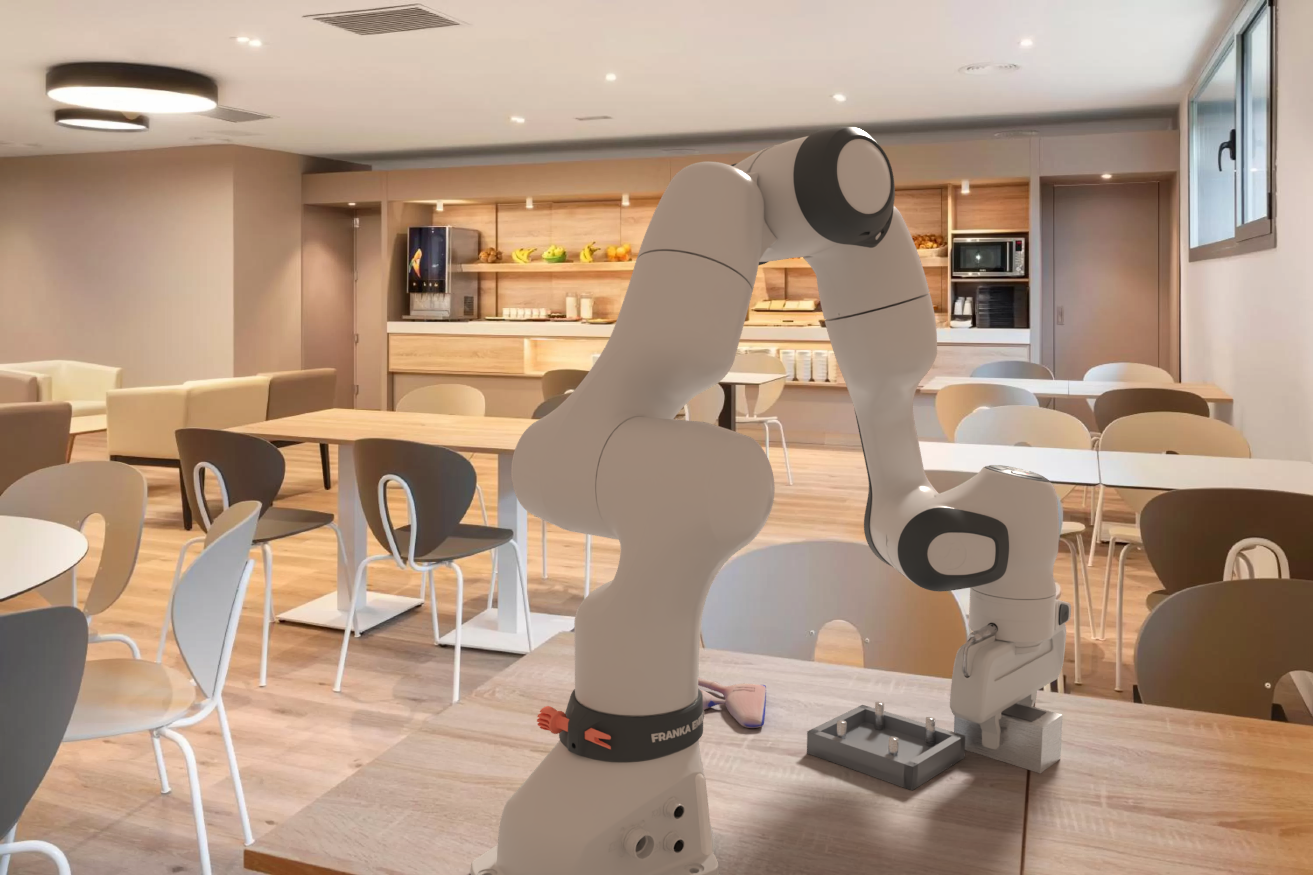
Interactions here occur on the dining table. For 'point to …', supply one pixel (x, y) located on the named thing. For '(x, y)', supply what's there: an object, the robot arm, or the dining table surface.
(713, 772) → the dining table surface
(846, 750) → the pin tray
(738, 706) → the anatomical model
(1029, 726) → the block
